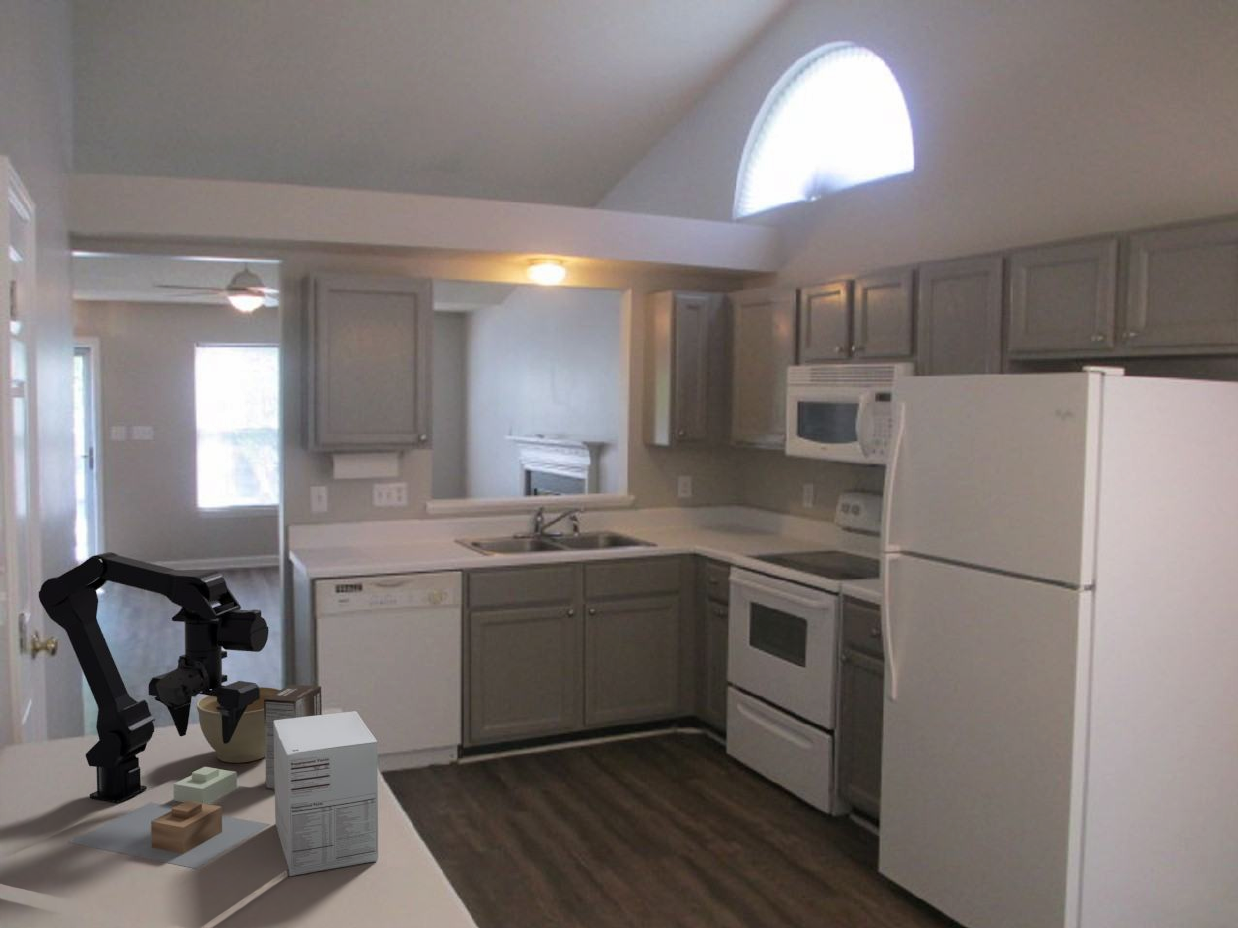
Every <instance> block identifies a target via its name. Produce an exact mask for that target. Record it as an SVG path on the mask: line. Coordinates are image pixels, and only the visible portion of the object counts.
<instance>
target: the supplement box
mask: <svg viewBox="0 0 1238 928" xmlns="http://www.w3.org/2000/svg"><path fill="white" fill-rule="evenodd" d="M273 727H274V780H275V789H274V813H275V814H274V818H275V820H274V823H275V826H276V830H277V834H278V837H279V840H280V844H281V847H282V851H283V854H284V858H285V861H286V865H287V869H286V870H287V874H288V877H292V876H297V875H304V874H310V873H314V872H320V871H321V872H322V871H327V870H328V871H329V870H333V869H340V868H345V867H351V866H356V865H361V864H367V863H368V864H369V863H373V862H377V861H378V860H379V795H378V794H379V790H378V789H379V785H378V781H379V780H378V776H379V775H378V774H379V773H378V771H379V770H378V768H379V767H378V766H379V765H378V747H379V746H378V741H377V739H376V738H375V736H374V734H373V733H372V732H371V731H370V729H369V728H368V726H367V725H366V723H365V722H364V720H363V719H362V718H361V716H360V715H359V714H358V712H357V711H355V710H354V711H346V712H338V713H337V712H335V713H329V714H327V713H326V714H322V715H317V716H308V717H299V718H291V719H282V720H274V721H273Z"/></svg>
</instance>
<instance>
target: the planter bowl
mask: <svg viewBox="0 0 1238 928" xmlns="http://www.w3.org/2000/svg"><path fill="white" fill-rule="evenodd" d="M259 689H260V699H259V700H256V701H254V702H253V704H250V705H248V706H247V708H246V710H245V711H244V713H243V715H242V717H241V718H240V721H239V723H238V725H237V727H236V729H235V731H234V733H233V736H232V738H231V740H230V742H229V743H227V744H224V743H223V737H222V715H221V713H220V712H219V711H218V710H217V709H216V708H217V707H219V706H220V704H219V703H218V702H217V697H215V696H208V695H204V696H203V697H201V698H200V699H199V700H198V701H197V703H196V709H197V712H198V719H199V721H198V722H199V725H200V728H201V732H202V734H203V736H204V738H205V741H206V742H207V743H208V744H209V745H210V747H211V748H212V749H213V750H214V752H216V758H217V759H218V760H220V761H222V762H225V763H236V764H237V763H248V762H254V761H257V760H261V759H262V758H265V718H264V699H265V698H267V697H269V696H271V695H272V694H274V693H276V692H278V691H280V690H281V689H279V688H275V687H268V686H267V687H266V686H265V687H264V686H259Z"/></svg>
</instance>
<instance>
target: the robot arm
mask: <svg viewBox="0 0 1238 928" xmlns="http://www.w3.org/2000/svg"><path fill="white" fill-rule="evenodd" d="M108 582H113V583H116V584H121V585H124V586H126V587H127V586H128V587H132V588H136V589H140V590H144V591H148V592H152V593H156V594H160V595H161V596H163V597H166V598H167V599H168V600H169V601H170V602H171V603H172V604H174V605H177V606H179V607H181V608H180V610H179V611H178V612H177V613H176V614H175V615H174V616H172V617H171V621H173V622H179V623H180V622H181V623H184V654H183V655H179V658H178V660H177V664H178V665H177V667H176V668H175V669H173V670H171V671H169V672H165V673H162V674H159V675H157V676H154V677H152V678H151V680H150V681H149V683H148V696H151V697H154V700H155V701H157V702H160V703H161V704H162V705H164V706H165V707H166V708H167V710H168V712H169V713H170V716H171V718H172V721H173V723H174V726H175V728H176V731H177V733H178V735H179V737H184V736H186V734H187V730H188V727H189V719H190V711H191V706H192V698H193V697H197V696H198V695H203V696H207V695H208V696H215V697H217V702H218V703H219V704H220V706H219V707H217V708H216V709H217V710H218V711H219V712H220V713H221V715H222V737H223V743H224V744H227V743H229V742H230V740H231V738H232V736H233V733H234V731H235V729H236V727H237V725H238V723H239V721H240V718H241V717H242V715H243V713H244V711H245V710H246V708H247V706H248V705H250V704H253V702H254V701H256V700H259V699H260V689H259V687H260V686H259V685H258V684H257V683H256V682H250V681H243V680H238V681H236V682H232V683H230V684H226V685H223V683H226V682H228V675H227V674H223V659H226V658H228V651H238V652H252V653H253V652H255V653H258V652H259V653H260V652H261V651H262V650H263V649H264V648H265V647H266V644H267V642H268V638H269V626H268V623H267V621H266V619H265V618H264V617H262V610H261V609H242V607H241V604H239V601H238V600H237V599H236V597H235V596H234V595H233V592H232V591H231V589H230V588H229V587H228V586H227V581H226V580H225V578H224V575H223V574H221V572H219V571H216V570H208V569H206V570H205V569H175V568H174V569H173V568H171V567H166V566H163V565H158V564H154V563H149V562H146V561H142V560H138V559H134V558H131V557H130V558H129V557H126V556H122V555H119V554H117V553H115V552H109V551H108V552H103V553H99V554H95V555H91V556H90V557H89V558H87V559H86V560H85V561H83V562H82V563H81V564H79V565H77V566H76V567H73V568H72V569H70V570H68V571H66V572H65V573H63V574H61V575H60V576H56V577H52V578H48V579H46V580H45V581H44V582H43V583H42V584H41V586H40V589H39V591H38V599H39V602H40V605H41V607H43V609H44V611H45V612H46V614H47V615H48V617H49V619H50V620H51V621H53V622H54V623H56V624H57V625H58V626H60V627H61V628H62V629H63V630H64V631H65V633H66V635H67V637H68V639H69V642H70V644H71V646H72V649H73V651H74V654H75V656H76V659H77V661H78V663H79V666H80V668H81V670H82V673H83V676H84V677H85V680H86V682H87V685H88V686H89V689H90V692H91V694H92V696H93V699H94V701H95V703H96V705H97V706H96V707H97V716H96V717H97V719H96V724H95V725H96V733H97V736H98V739H99V740H98V741H97V742H96V743H95V744H94V745H93V746H92V747H91V748H90V749H89V750H88V751H87V752H86V753H85V757H86V761H87V764H88V766H89V767H92V768H93V767H95V768H96V790H95V791H94V792H91V793H89V798H92V799H96V800H103V801H106V802H111V803H120V802H123V801H124V800H127V799H129V798H131V797H133V796H135V795H137V794H139V793H141V792H144V791H146V790H147V789H148V788H147V785H142V783H141V779H142V778H141V767H140V762H139V761H140V758H139V756H137V755H139V754H141V753H143V752H144V751H146V747H147V744H148V743H149V742H150V740H151V739H152V738H153V734H154V732H155V725H154V722H155V721H156V718H155V717H154V716H153V714H152V713H151V711H150V708H149V703H148V702H147V701H146V699H142V700H140V701H137V700H135V699H134V698H133V697H132V696H131V695H130V694H129V693H128V690H127V688H126V685H125V683H124V681H123V678H122V677H121V674H120V672H119V669H118V667H117V665H116V662H115V659H114V657H113V655H112V652H111V650H110V648H109V645H108V643H107V641H106V639H105V636H104V633H103V631H102V629H101V627H100V624H99V622H98V619H97V614H98V607H99V598H98V594H97V591H98V590H99V589H100V588H102V587H104V586H105V584H106V583H108ZM218 604H219V605H218ZM214 605H217V606H214ZM213 606H214V607H213ZM223 649H224V650H223ZM225 650H226V651H225Z"/></svg>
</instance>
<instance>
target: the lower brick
mask: <svg viewBox="0 0 1238 928" xmlns="http://www.w3.org/2000/svg"><path fill="white" fill-rule="evenodd" d="M222 812H223V808H222V806H220V805H215V804H209V803H208V804H203V803H198V802H192V801H190V802H188V801H185V802H181V803H180V804H177V805H176V806H174V808H172V811H170V812H168V813H166V814H164V815H163V816H161V817H159V818H157V819H155V820H153V821H151V840H152V848H157V849H162V850H167V851H171V852H176V853H181V854H185V853H186V852H188V851H190V850H192V849H193V848H195V847H197V846H199V845H200V844H202V843H204V842H206V841H208V840H209V839H211V838H213V837H215V836H216V835H218V834H220V833H222V815H223V813H222Z"/></svg>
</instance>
